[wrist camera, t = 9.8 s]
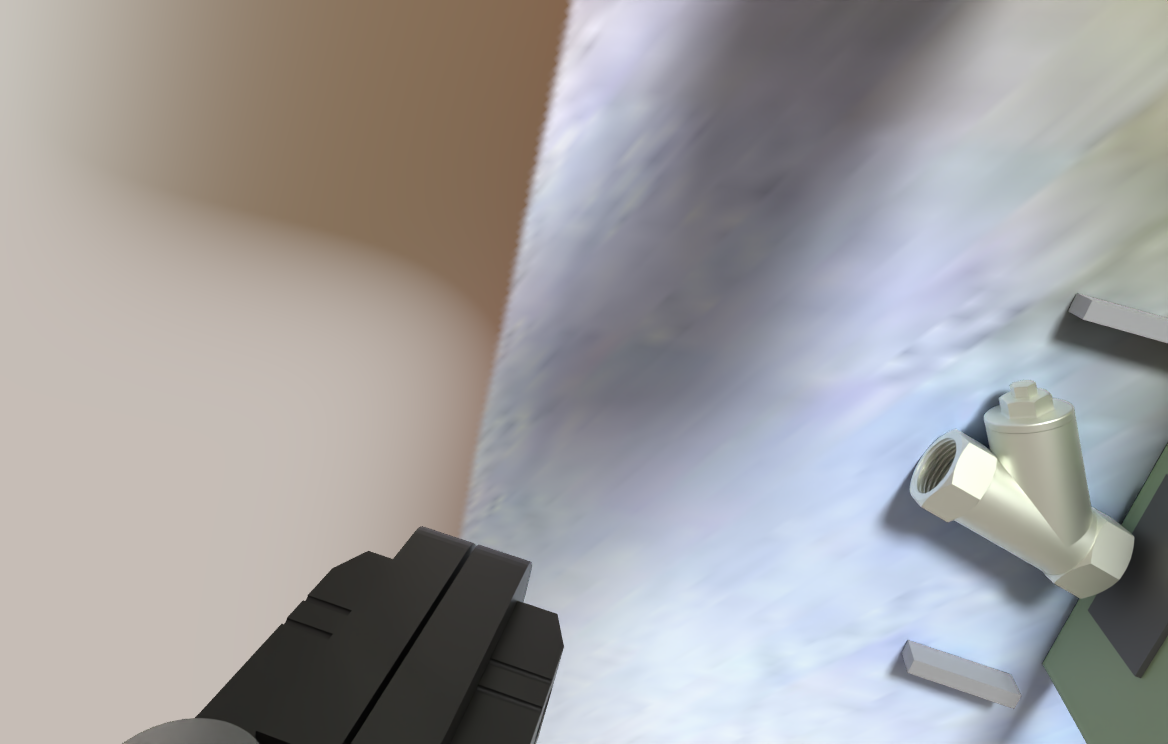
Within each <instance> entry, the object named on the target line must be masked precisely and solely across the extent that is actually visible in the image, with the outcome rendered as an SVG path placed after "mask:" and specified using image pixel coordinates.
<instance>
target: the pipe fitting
mask: <svg viewBox="0 0 1168 744" xmlns="http://www.w3.org/2000/svg"><path fill="white" fill-rule="evenodd" d="M1009 386H1010V392H1007V393H1005V394H1004V395H1002V396H1001V397H1000V398H999V402H1000V405H997V406H995V407H993V408H991V409H990V410H988V411H987V412H986V413H985V415H984V422H985V426H986V431H987V437H988V442H989V447H990V450H989V449H988V448H986V447H985V446H984V445H983V444H981V443H980V442H978V441H976V440H974V439H973V438H971V437H969V436H967V435H966V434H964V433H962V432H960V431H959V430H957V429H953V430H951V431H949V432H947V433H945V434H944V435H942V436H941V437H939V438H938V439H937V440H936V441H935V442H934V443H933V444H932V445H931V446H930V447H929V448H928V449H927V450H926V452H925V453H924V454H923V456H922V457H921V459H920V460H919V462H918V464H917V466H916V468H915V470H914V473H913V476H912V479H911V484H910V494H911V495H912V497H913V498H914V500H915V501H916V502H917V503H918V504H919V505H920V507H922V508H924V509H925V510H927V511H929V512H931V513H932V514H934V515H936V516H937V517H939V518H941V519H943V520H944V521H946V522H950V521H953V520H954V521H956V522H958V523H960V524H961V525H963V526H965V527H967V528H968V529H970V530H972V531H973V532H975V533H977V534H979V535H980V536H982V537H984V538H986V539H987V540H989V541H991V542H993V543H994V544H996V545H998V546H1000V547H1001V548H1003V549H1005V550H1007V551H1008V552H1010V553H1012V554H1013V555H1015V556H1017V557H1019V558H1020V559H1022V560H1024V561H1026V562H1027V563H1029V564H1031V565H1033V566H1034V567H1036V568H1038V569H1040V570H1041V571H1042V572H1043V573H1044V574H1045V575H1046V576H1047V577H1048V578H1049V579H1050V580H1051V581H1052V582H1053V583H1054V584H1056V585H1057V586H1059V587H1061V588H1063V589H1064V590H1066V591H1068V592H1070V593H1071V594H1073V595H1075V596H1076V597H1078V598H1080V599H1082V598H1086V597H1090V596H1093V595H1095V594H1098V593H1100V592H1103V591H1105V590H1106V589H1108V588H1110V587H1111V586H1113V585H1114V584H1115V583H1116V582H1117V581H1119V580H1120V578H1121V577H1122V575H1123V574H1124V572H1125V570H1126V569H1127V566H1128V564H1129V562H1130V559H1131V556H1132V552H1133V547H1134V538H1135V537H1134V536H1133V535H1132V534H1131V533H1130V532H1129V531H1128V530H1126V529H1125V528H1124V527H1123V526H1121V525H1120V524H1119V523H1118V522H1116V521H1115V520H1114V519H1112V518H1111V517H1109V516H1107V515H1106V514H1104V513H1102V512H1100V511H1099V510H1097V509H1095V508H1093V507H1092V506H1091V503H1090V497H1089V491H1088V486H1087V480H1086V475H1085V469H1084V463H1083V457H1082V451H1081V445H1080V440H1079V434H1078V428H1077V422H1076V416H1075V410H1074V406H1073V405H1072V404H1071V403H1070V402H1068V401H1065V400H1061V399H1056V398H1052V395H1051V394H1050V393H1049V392H1048V391H1047V390H1045V389H1042V388H1037V387H1036V383H1035V382H1034V381H1032V380H1021V381H1016V382H1014V383H1012V384H1010V385H1009Z"/></svg>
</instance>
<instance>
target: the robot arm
mask: <svg viewBox="0 0 1168 744" xmlns="http://www.w3.org/2000/svg"><path fill="white" fill-rule="evenodd" d="M531 568H532V562H530V561H527V560H524V559H521V558H518V557H515V556H512V555H509V554H506V553H503V552H500V551H496V550H493V549H490V548H487V547H484V546H481V545H477V546H476V545H475V544H474V543H471V542H468V541H465V540H462V539H459V538H456V537H453V536H450V535H447V534H444V533H441V532H438V531H435V530H432V529H429V528H426V527H423V526H422V527H419V528H418V529H417V530H416V531H415V532H414V534H413V535H412V536H411V537H410V539H409V540H408V541H407V542H406V544H405V545H404V546H403V547H402V549H401V550H400V551H399V552H398V554H397V555H396V556H395V557H394V559H391V558H387V557H385V556H382V555H379V554H376V553H373V552H370V551H368V552H365V553H363V554H361V555H359V556H357V557H355V558H353V559H351V560H349V561H347V562H345V563H343V564H340V565H339V566H337V567H334V568H333V569H331V571H330V572H329V573H328V574H327V575H326V576H325V577H324V578H323V579H322V580H321V581H320V583H319V584H318V585H317V586H316V587H315V588H314V589H313V590H312V591H311V592H310V593H309V595H308V597H307V599H306V601H302V602H301V603H300V604H299V605H298V606H297V608H296V609H295V610H294V611H293V612H292V613H291V614H290V615H289V616H288V618H287V620H286V623H285V624H281V625H280V626H279V627H278V629H277V630H276V631H275V632H274V633H273V634H272V635H271V636H270V637H269V638H268V639H267V640H266V641H265V642H264V644H263V645H262V646H261V647H260V648H259V649H258V650H257V651H256V652H255V653H254V654H253V656H252V657H251V658H250V659H249V660H248V661H247V662H246V663H245V664H244V666H242V668H241V669H240V670H239V671H238V672H237V673H236V674H235V675H234V676H233V677H232V679H231V680H230V681H229V682H228V683H227V684H226V685H225V686H224V687H223V688H222V689H221V690H220V692H219V693H218V694H217V695H216V696H215V697H214V698H213V699H212V700H211V701H210V702H209V703H208V705H207V706H206V707H205V708H204V709H203V710H202V711H201V712H200V713H199V714H198V715H197V716H196V717H195V718H193V719H182V720H177V721H172V722H167V723H164V724H161V725H158V726H155V727H152V728H150V729H147V730H145V731H143V732H141V733H139V734H137V735H135V736H134V737H132V738H130V739H129V740H127V741H126V742H124V743H122V744H536V743H537V740H538V736H539V733H540V729H541V726H542V722H543V719H544V715H545V712H546V708H547V705H548V701H549V698H550V694H551V691H552V687H553V683H554V680H555V676H556V673H557V669H558V666H559V662H560V659H561V655H562V652H563V648H564V645H563V640H562V635H561V630H560V625H559V620H558V615H557V614H555V613H552V612H549V611H546V610H543V609H541V608H538V607H535V606H532V605H529V604H526V603H523V601H524V597H525V593H526V589H527V585H528V581H529V577H530V573H531Z"/></svg>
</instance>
